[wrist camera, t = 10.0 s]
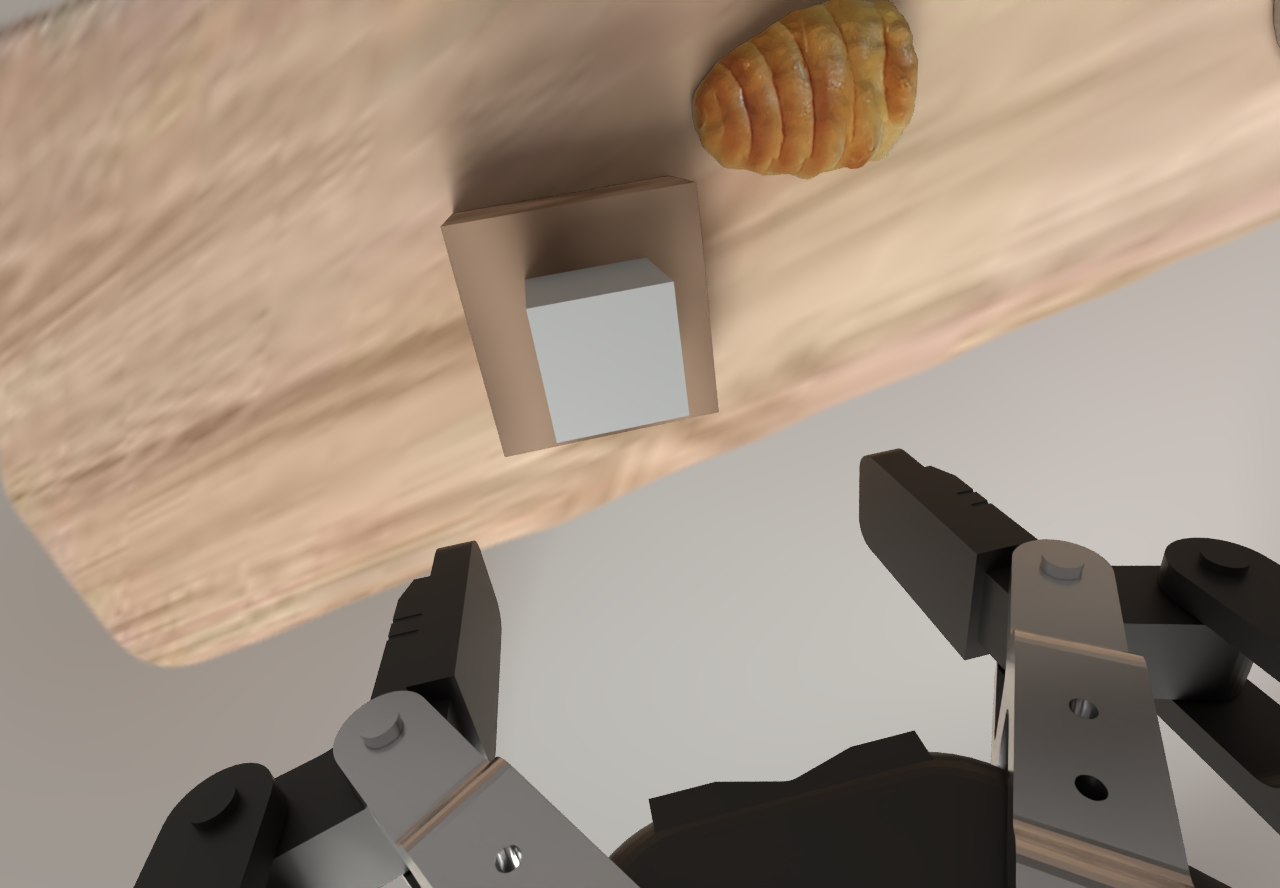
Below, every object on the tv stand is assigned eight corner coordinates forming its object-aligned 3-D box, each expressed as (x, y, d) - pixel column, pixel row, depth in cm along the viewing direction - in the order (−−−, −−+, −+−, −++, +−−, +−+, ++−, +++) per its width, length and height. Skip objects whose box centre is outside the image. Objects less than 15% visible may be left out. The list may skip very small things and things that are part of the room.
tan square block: (668, 175, 29) (696, 181, 25) (692, 376, 34) (718, 411, 29) (452, 213, 28) (440, 226, 24) (506, 414, 33) (504, 457, 28)
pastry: (701, 202, 30) (724, 208, 27) (675, 39, 27) (697, 22, 24) (885, 155, 31) (930, 156, 27) (879, -10, 28) (930, -33, 24)
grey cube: (646, 257, 25) (673, 281, 21) (661, 372, 28) (689, 415, 23) (524, 279, 25) (526, 309, 21) (550, 394, 27) (556, 443, 23)
